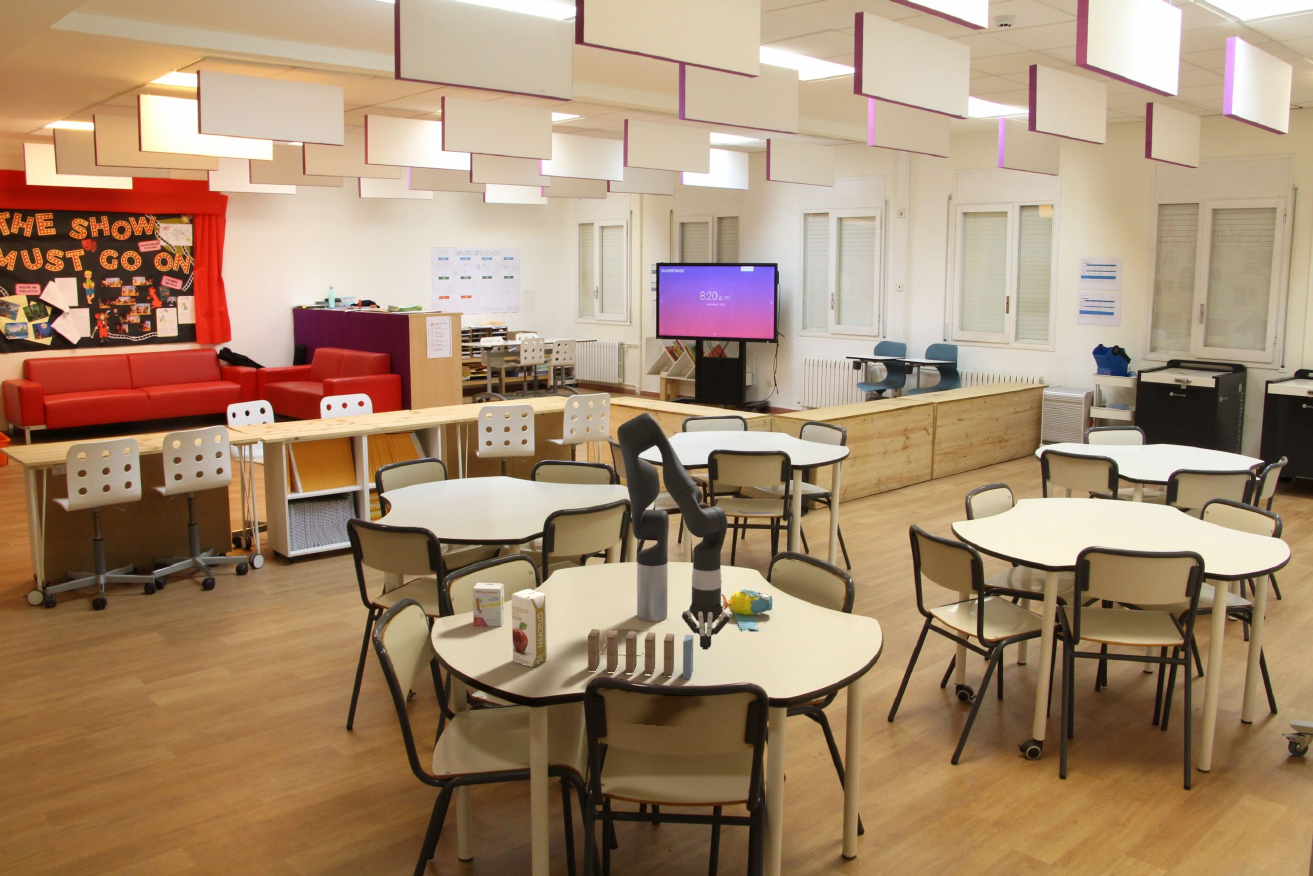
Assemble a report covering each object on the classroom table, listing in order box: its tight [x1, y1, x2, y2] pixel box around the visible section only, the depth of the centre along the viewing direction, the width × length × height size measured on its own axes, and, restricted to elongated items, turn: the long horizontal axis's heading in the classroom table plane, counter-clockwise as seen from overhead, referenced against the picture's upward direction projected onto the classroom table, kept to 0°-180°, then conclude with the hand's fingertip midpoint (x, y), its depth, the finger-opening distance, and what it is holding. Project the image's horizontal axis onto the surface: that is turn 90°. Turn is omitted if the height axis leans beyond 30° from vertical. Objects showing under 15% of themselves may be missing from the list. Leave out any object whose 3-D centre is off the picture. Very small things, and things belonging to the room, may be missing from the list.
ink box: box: [472, 582, 505, 627], centre depth 292 cm, size 9×5×12 cm, turn 87°
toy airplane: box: [721, 588, 773, 632], centre depth 301 cm, size 28×9×15 cm
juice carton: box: [511, 588, 548, 667], centre depth 263 cm, size 8×9×19 cm
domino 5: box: [663, 633, 675, 677], centre depth 256 cm, size 5×2×10 cm, turn 171°
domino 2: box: [606, 629, 619, 673], centre depth 259 cm, size 5×2×10 cm, turn 171°
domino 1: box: [587, 628, 601, 672], centre depth 259 cm, size 5×2×10 cm, turn 171°
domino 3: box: [625, 630, 638, 674], centre depth 258 cm, size 5×2×10 cm, turn 171°
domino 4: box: [644, 631, 656, 675], centre depth 257 cm, size 5×2×10 cm, turn 171°
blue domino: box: [682, 634, 694, 679], centre depth 256 cm, size 5×2×10 cm, turn 171°
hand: (705, 648), depth 255 cm, fingers closed
